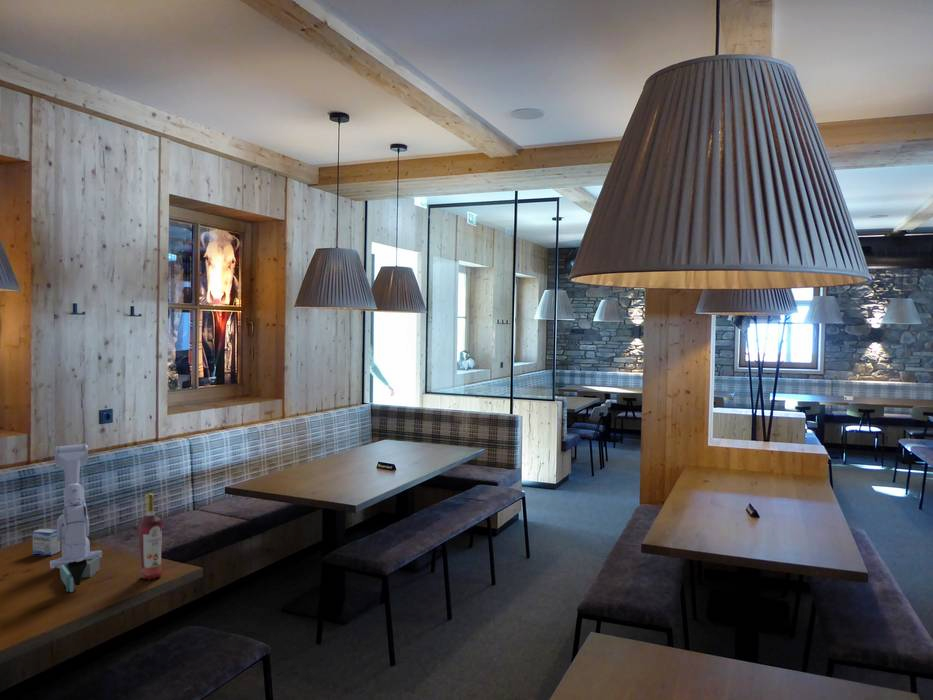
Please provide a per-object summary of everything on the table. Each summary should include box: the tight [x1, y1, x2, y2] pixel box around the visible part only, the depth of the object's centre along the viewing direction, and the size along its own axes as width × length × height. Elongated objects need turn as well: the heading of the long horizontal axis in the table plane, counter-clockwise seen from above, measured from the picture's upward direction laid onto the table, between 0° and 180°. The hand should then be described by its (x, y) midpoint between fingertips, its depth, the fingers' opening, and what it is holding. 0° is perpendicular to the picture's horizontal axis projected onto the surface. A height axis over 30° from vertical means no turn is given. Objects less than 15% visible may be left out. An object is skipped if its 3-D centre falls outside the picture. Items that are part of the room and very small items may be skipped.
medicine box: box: [32, 528, 61, 556], centre depth 251 cm, size 8×4×9 cm, turn 81°
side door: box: [59, 565, 75, 593], centre depth 220 cm, size 16×2×5 cm, turn 41°
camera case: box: [64, 558, 101, 579], centre depth 230 cm, size 7×9×5 cm
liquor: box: [137, 493, 163, 580], centre depth 226 cm, size 7×7×28 cm
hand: (77, 584), depth 217 cm, fingers closed
